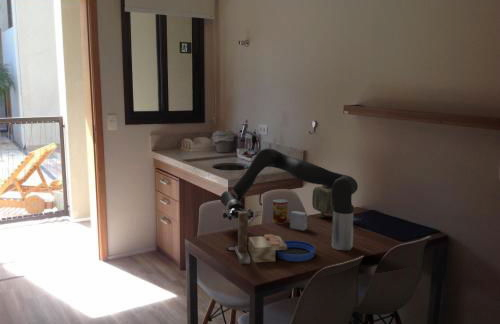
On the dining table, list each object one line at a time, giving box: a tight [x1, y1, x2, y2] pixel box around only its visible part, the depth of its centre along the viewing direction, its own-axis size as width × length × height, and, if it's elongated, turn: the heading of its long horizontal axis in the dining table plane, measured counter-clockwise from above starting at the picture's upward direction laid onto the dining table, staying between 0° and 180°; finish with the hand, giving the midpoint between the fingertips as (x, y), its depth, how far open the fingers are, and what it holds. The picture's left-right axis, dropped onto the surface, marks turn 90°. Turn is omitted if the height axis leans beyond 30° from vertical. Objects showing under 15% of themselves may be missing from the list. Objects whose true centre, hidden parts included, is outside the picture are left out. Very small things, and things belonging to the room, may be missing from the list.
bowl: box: [275, 240, 316, 262], centre depth 199 cm, size 18×18×4 cm
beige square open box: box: [247, 235, 287, 263], centre depth 196 cm, size 14×14×6 cm
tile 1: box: [269, 241, 280, 246], centre depth 192 cm, size 4×4×1 cm
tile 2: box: [269, 237, 280, 242], centre depth 196 cm, size 4×4×1 cm
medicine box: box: [289, 210, 308, 231], centre depth 235 cm, size 8×4×9 cm, turn 58°
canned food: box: [272, 198, 289, 225], centre depth 247 cm, size 8×8×12 cm
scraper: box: [234, 210, 251, 265], centre depth 193 cm, size 4×15×20 cm, turn 11°
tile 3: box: [263, 233, 276, 240], centre depth 200 cm, size 4×4×1 cm
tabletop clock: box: [311, 185, 333, 219], centre depth 255 cm, size 14×9×25 cm, turn 32°
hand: (240, 218), depth 204 cm, fingers open, 8 cm apart
